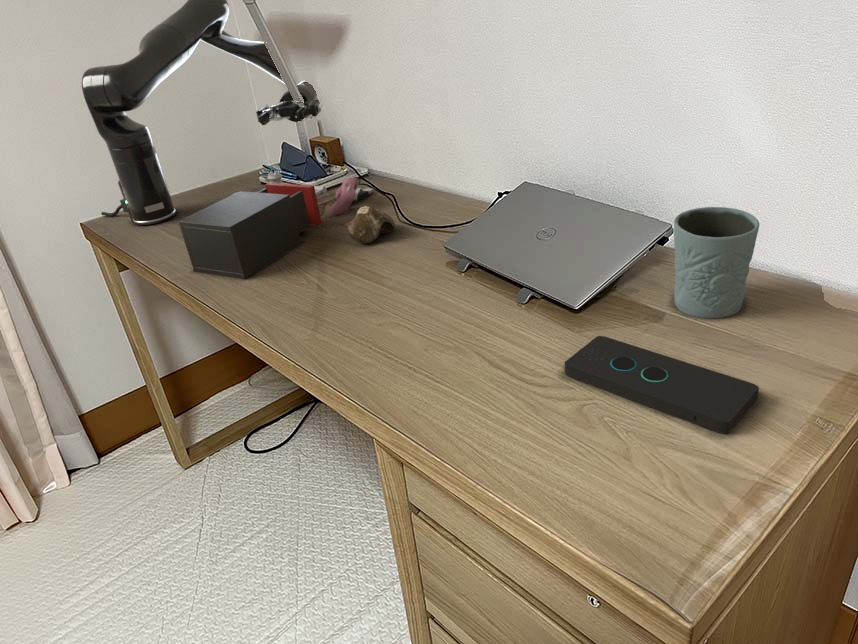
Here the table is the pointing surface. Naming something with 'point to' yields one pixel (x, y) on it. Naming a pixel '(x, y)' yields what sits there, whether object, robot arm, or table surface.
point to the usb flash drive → (362, 193)
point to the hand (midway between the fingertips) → (280, 118)
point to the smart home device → (664, 383)
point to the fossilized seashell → (369, 224)
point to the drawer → (300, 202)
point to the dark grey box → (240, 233)
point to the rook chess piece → (275, 177)
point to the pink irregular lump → (345, 195)
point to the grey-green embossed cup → (712, 260)
